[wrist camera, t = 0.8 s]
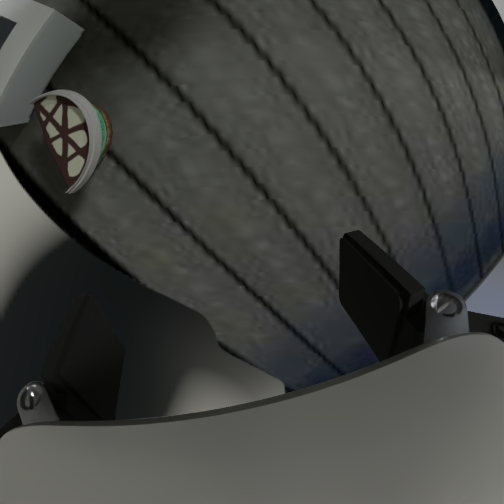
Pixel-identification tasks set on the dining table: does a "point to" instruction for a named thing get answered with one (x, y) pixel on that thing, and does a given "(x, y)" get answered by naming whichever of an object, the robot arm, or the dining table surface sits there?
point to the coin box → (30, 54)
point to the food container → (73, 134)
